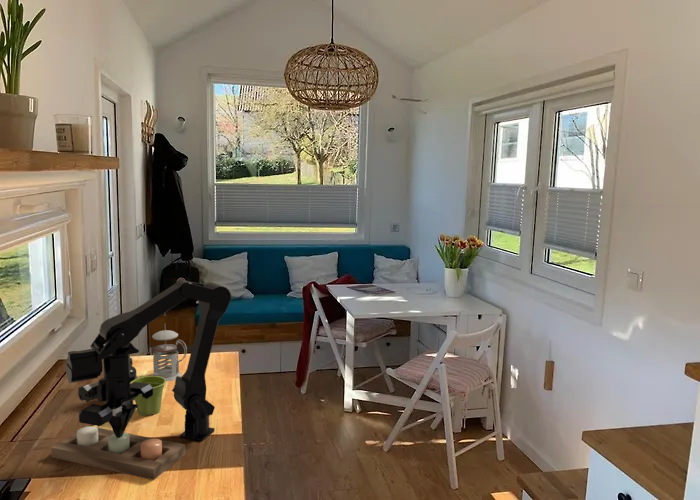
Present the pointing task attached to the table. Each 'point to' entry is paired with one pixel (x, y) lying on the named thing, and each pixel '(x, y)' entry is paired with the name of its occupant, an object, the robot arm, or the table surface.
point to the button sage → (118, 443)
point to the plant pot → (153, 402)
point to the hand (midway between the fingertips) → (119, 436)
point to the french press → (169, 370)
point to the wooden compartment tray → (119, 455)
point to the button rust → (151, 449)
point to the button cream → (87, 436)
